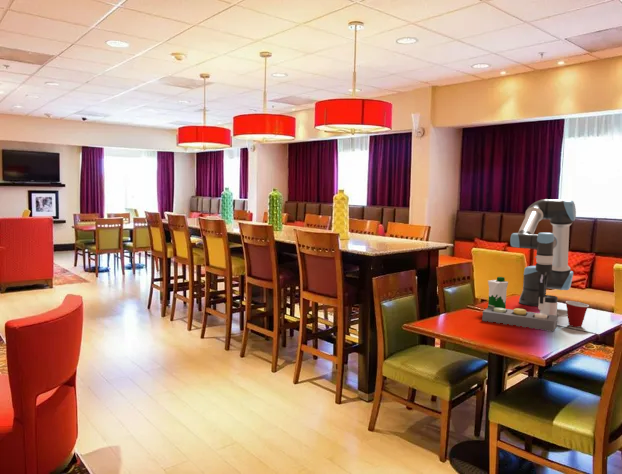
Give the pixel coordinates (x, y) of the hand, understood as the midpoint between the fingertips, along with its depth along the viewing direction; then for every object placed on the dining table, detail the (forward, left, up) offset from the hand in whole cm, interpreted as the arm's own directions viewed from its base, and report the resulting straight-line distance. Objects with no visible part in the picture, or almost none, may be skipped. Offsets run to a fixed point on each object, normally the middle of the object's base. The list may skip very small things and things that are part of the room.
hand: (541, 309), depth 252 cm
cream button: (0, 0, -5) cm, 5 cm away
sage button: (0, -20, -5) cm, 21 cm away
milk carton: (-16, -25, -9) cm, 31 cm away
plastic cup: (-12, +15, -9) cm, 21 cm away
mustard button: (0, -10, -4) cm, 11 cm away
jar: (-20, +1, -9) cm, 21 cm away
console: (0, -10, -9) cm, 13 cm away
